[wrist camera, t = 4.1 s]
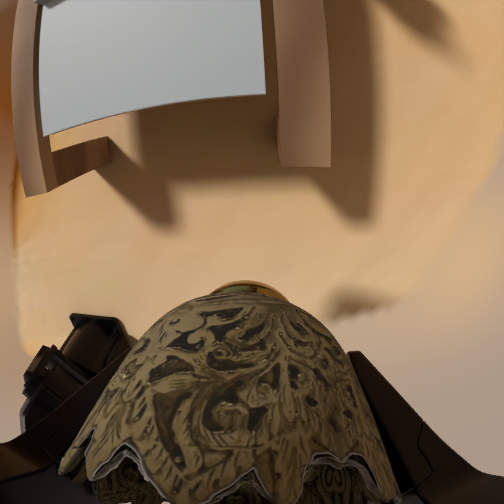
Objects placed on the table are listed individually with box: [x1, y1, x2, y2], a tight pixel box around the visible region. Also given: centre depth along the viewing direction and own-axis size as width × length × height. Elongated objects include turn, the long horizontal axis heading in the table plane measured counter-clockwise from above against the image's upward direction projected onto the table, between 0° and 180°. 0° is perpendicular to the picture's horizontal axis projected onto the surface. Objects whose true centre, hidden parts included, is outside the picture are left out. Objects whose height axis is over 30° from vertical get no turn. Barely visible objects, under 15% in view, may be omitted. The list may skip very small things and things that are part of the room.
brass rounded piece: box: [59, 280, 404, 504], centre depth 7 cm, size 8×7×8 cm
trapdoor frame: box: [11, 0, 331, 197], centre depth 11 cm, size 16×17×8 cm
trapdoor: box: [33, 0, 266, 137], centre depth 8 cm, size 11×11×2 cm
